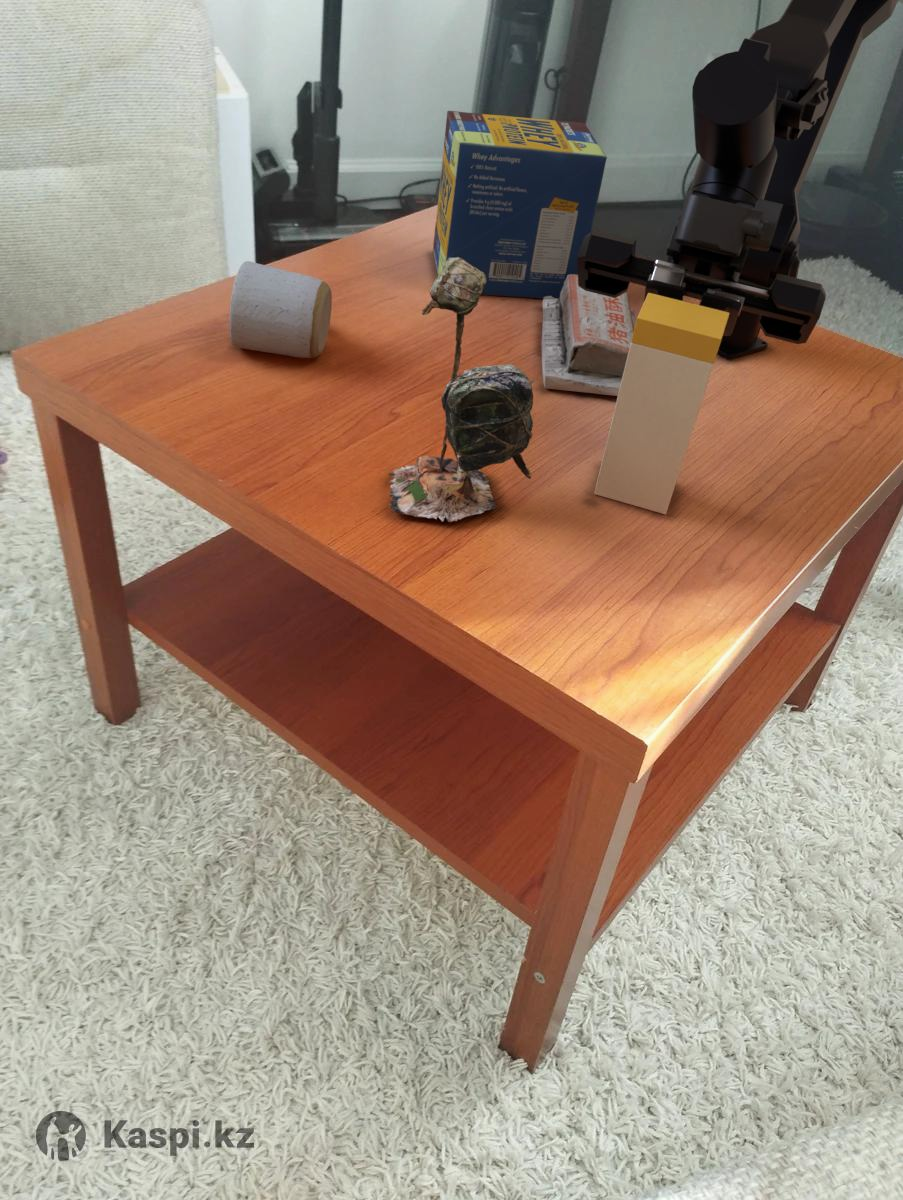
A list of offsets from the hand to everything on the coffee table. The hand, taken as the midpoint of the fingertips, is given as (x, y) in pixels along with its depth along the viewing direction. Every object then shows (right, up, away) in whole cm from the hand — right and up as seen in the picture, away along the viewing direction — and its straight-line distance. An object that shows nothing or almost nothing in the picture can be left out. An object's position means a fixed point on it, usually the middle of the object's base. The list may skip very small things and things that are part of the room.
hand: (664, 389), depth 77 cm
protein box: (-11, +20, +34) cm, 41 cm away
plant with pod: (-16, -9, +1) cm, 18 cm away
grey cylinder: (-33, +8, +17) cm, 38 cm away
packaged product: (-3, +8, +23) cm, 24 cm away
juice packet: (-1, -7, +5) cm, 9 cm away
